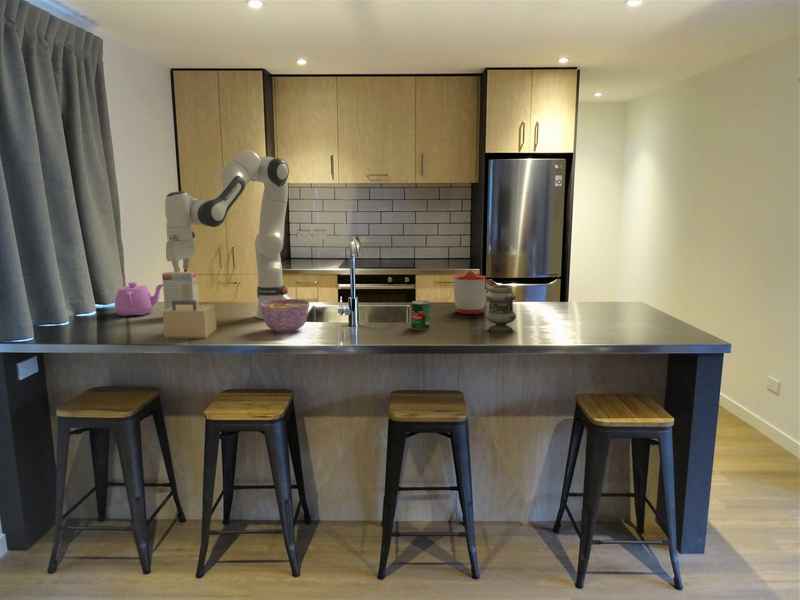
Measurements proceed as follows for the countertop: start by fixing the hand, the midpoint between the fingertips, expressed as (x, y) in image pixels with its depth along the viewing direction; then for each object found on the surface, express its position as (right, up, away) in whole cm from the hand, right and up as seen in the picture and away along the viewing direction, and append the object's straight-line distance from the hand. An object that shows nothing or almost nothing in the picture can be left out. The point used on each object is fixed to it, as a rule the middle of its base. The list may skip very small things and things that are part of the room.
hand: (181, 270), depth 223 cm
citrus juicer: (+118, -17, +51) cm, 130 cm away
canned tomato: (+93, -23, +19) cm, 97 cm away
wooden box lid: (0, -15, +8) cm, 17 cm away
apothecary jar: (+125, -24, +15) cm, 128 cm away
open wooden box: (0, -25, +10) cm, 27 cm away
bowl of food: (+37, -24, +15) cm, 47 cm away
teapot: (-41, -18, +53) cm, 69 cm away
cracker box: (-16, -19, +44) cm, 51 cm away
